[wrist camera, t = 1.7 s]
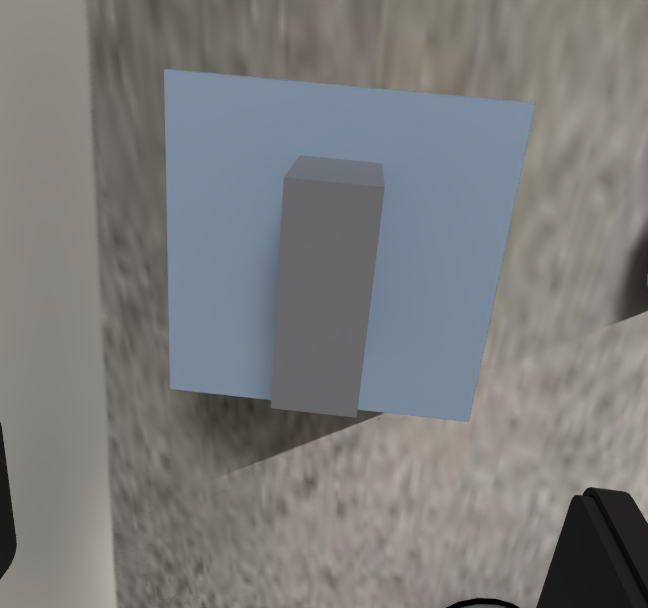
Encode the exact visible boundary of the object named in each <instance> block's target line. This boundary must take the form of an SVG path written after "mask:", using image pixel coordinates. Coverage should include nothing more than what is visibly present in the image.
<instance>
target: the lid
mask: <svg viewBox="0 0 648 608" xmlns="http://www.w3.org/2000/svg"><path fill="white" fill-rule="evenodd" d="M164 83H165V138H166V193H167V247H168V302H169V357H170V389H175V390H184V391H193V392H202V393H211V394H220V395H229V396H238V397H247V398H256V399H265V400H271V408H273V409H282V410H291V411H300V412H309V413H318V414H327V415H336V416H345V417H354V418H357V410H365V411H374V412H383V413H392V414H401V415H410V416H419V417H428V418H437V419H446V420H455V421H464V422H469V419H470V415H471V410H472V405H473V400H474V395H475V391H476V386H477V381H478V376H479V371H480V367H481V362H482V357H483V352H484V347H485V343H486V338H487V333H488V328H489V323H490V319H491V314H492V309H493V304H494V299H495V295H496V290H497V285H498V280H499V276H500V271H501V266H502V261H503V256H504V252H505V247H506V242H507V237H508V232H509V228H510V223H511V218H512V213H513V208H514V204H515V199H516V194H517V189H518V184H519V180H520V175H521V170H522V165H523V160H524V156H525V151H526V146H527V141H528V136H529V132H530V127H531V122H532V117H533V112H534V108H535V103H531V102H522V101H511V100H500V99H489V98H478V97H467V96H456V95H445V94H434V93H423V92H413V91H402V90H391V89H380V88H369V87H358V86H347V85H336V84H325V83H314V82H304V81H293V80H282V79H271V78H260V77H249V76H238V75H227V74H216V73H205V72H194V71H184V70H173V69H168V70H164Z"/></svg>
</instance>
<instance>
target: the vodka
mask: <svg viewBox="0 0 648 608" xmlns="http://www.w3.org/2000/svg"><path fill="white" fill-rule="evenodd" d="M446 608H519V607H518V606H516V605H514V604H513V603H509V602H505V601H502V600H498V599H489V598H475V599H470V600H465V601H460V602H457V603H455V604H453V605H451V606H448V607H446Z"/></svg>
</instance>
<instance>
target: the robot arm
mask: <svg viewBox="0 0 648 608" xmlns="http://www.w3.org/2000/svg"><path fill="white" fill-rule="evenodd" d="M647 287H648V275H647ZM16 546H17V543H16V534H15V526H14V518H13V511H12V503H11V496H10V488H9V480H8V473H7V465H6V457H5V449H4V442H3V433H2V427H1V423H0V579H1V578H2V576H3V575H4V573H5V572H6V571H7V569H8V568H9V566H10V565H11V563H12V560H13V558H14V555H15V552H16ZM536 608H648V523H647V522H646V520H645V518H644V516H643V515H642V513H641V511H640V510H639V508H638V506H637V505H636V503H635V501H634V500H633V498H632V497H631V496H630V494H629V493H627V492H623V491H616V490H608V489H600V488H593V487H590V488H587V489H586V490H585V491H584V493H583V495H575V496H574V497H573V498H572V500H571V503H570V506H569V509H568V512H567V515H566V518H565V521H564V524H563V527H562V531H561V534H560V537H559V540H558V543H557V546H556V549H555V552H554V555H553V558H552V561H551V564H550V567H549V570H548V574H547V577H546V580H545V583H544V586H543V589H542V592H541V595H540V598H539V601H538V604H537V607H536Z"/></svg>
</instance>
